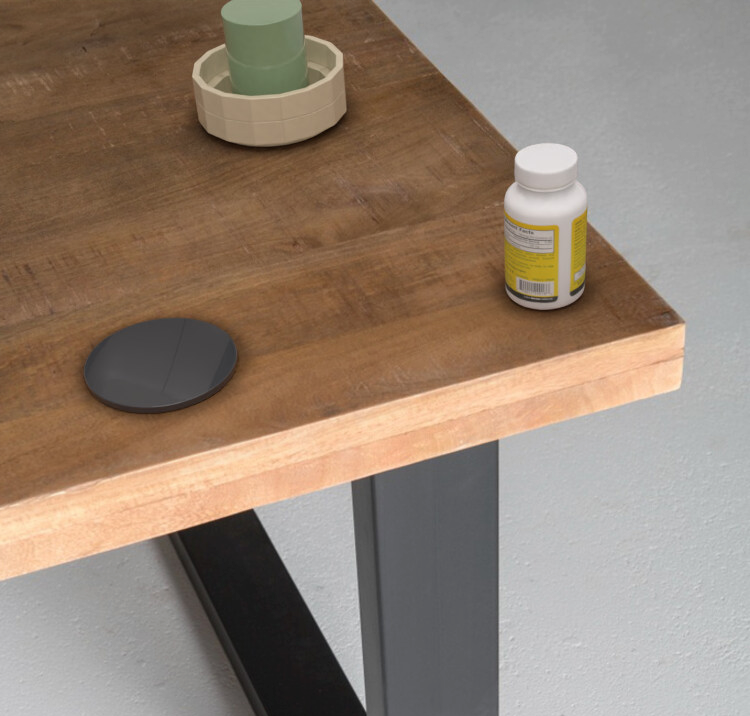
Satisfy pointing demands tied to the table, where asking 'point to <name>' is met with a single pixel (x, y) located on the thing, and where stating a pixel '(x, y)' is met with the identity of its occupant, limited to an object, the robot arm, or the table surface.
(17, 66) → the table surface
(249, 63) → the sage green cylinder
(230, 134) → the cream bowl
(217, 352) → the slate coaster
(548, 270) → the supplement bottle
